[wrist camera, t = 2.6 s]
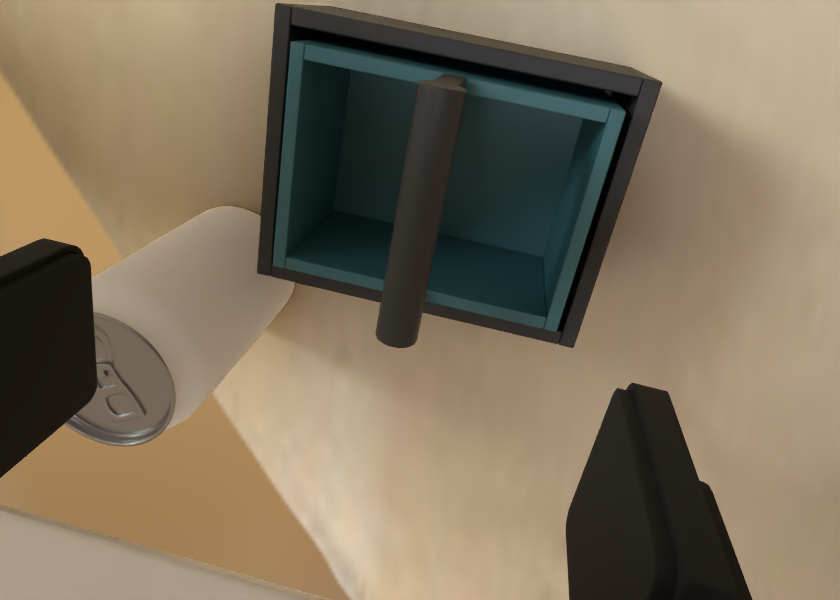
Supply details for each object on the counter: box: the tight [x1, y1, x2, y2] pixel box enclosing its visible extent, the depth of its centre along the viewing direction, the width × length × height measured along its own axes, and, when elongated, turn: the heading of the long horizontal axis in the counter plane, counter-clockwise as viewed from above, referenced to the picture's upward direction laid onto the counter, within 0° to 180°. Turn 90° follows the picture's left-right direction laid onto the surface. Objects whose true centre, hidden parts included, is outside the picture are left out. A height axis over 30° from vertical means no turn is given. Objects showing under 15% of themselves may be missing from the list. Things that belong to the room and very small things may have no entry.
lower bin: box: [257, 3, 662, 348], centre depth 26 cm, size 13×10×7 cm
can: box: [64, 206, 295, 446], centre depth 27 cm, size 6×6×12 cm
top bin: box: [273, 36, 626, 348], centre depth 23 cm, size 11×8×11 cm
